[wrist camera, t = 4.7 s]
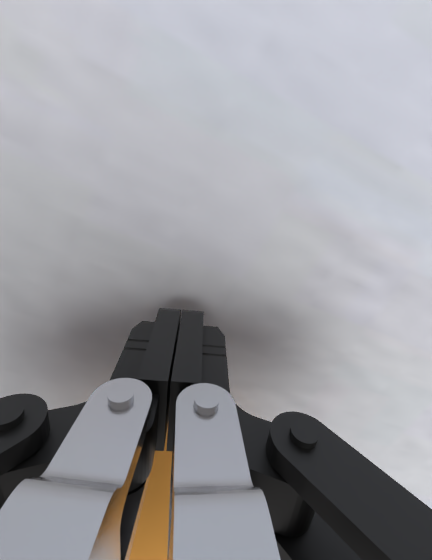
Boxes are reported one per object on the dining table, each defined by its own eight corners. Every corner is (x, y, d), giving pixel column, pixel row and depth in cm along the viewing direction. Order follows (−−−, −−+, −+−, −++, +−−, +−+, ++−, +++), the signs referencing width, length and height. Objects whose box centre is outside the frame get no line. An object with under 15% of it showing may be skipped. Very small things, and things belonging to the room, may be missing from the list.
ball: (58, 611, 11) (111, 458, 16) (210, 627, 11) (216, 471, 16) (39, 541, 8) (110, 383, 13) (238, 564, 8) (235, 400, 13)
